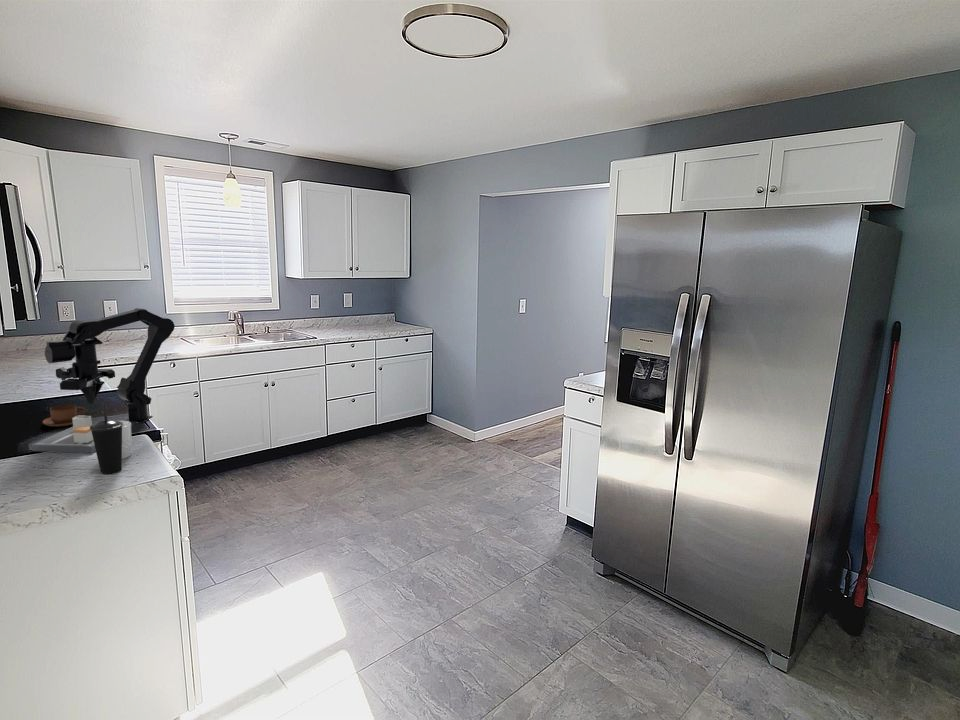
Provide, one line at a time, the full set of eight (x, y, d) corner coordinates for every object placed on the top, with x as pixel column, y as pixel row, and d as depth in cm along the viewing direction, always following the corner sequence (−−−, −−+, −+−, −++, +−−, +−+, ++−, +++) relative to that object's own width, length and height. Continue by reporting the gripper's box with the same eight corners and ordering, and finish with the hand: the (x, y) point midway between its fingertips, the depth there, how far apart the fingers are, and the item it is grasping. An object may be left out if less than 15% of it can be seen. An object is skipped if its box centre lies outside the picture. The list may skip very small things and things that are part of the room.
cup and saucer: (70, 416, 196) (69, 400, 195) (94, 421, 192) (92, 404, 191) (34, 426, 185) (32, 409, 184) (58, 431, 181) (56, 413, 180)
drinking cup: (91, 478, 147) (83, 408, 143) (98, 467, 154) (90, 400, 150) (124, 474, 150) (117, 405, 146) (129, 464, 157) (123, 398, 153)
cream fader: (79, 427, 179) (78, 414, 178) (92, 427, 179) (91, 415, 179) (73, 429, 176) (72, 417, 176) (86, 430, 176) (84, 417, 176)
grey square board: (74, 431, 181) (74, 425, 181) (129, 433, 182) (128, 427, 181) (32, 451, 164) (31, 444, 163) (92, 452, 164) (91, 446, 164)
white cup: (139, 451, 166) (136, 420, 164) (123, 461, 159) (120, 429, 157) (113, 451, 166) (110, 420, 164) (96, 460, 158) (92, 428, 156)
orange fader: (81, 439, 169) (79, 426, 168) (94, 439, 169) (93, 427, 168) (74, 442, 166) (72, 429, 165) (87, 442, 166) (86, 430, 165)
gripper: (81, 352, 187) (86, 395, 190) (39, 363, 169) (45, 411, 172) (113, 353, 188) (118, 396, 191) (75, 364, 169) (81, 412, 172)
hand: (91, 403), depth 181 cm, fingers closed
